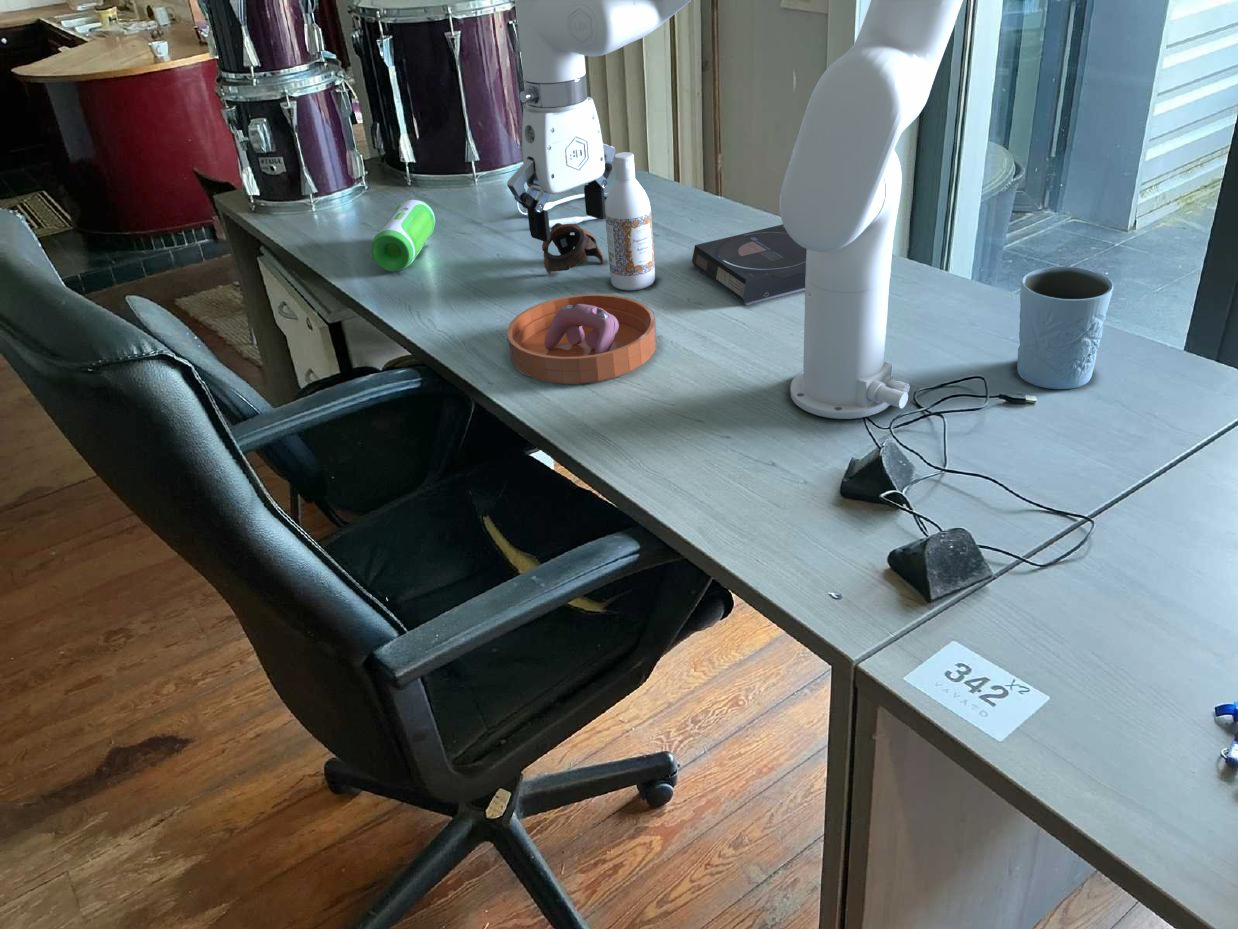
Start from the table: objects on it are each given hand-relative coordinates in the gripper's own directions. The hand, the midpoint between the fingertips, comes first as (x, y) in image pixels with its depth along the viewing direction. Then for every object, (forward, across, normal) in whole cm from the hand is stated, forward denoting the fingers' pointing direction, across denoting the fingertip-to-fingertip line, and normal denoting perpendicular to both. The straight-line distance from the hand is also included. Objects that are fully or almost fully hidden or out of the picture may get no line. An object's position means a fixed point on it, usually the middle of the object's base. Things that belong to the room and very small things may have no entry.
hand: (568, 227), depth 135 cm
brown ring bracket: (+18, +20, +23) cm, 35 cm away
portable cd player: (+17, +35, -5) cm, 39 cm away
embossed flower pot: (+17, +31, -53) cm, 63 cm away
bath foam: (+18, +21, +10) cm, 29 cm away
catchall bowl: (+17, 0, -1) cm, 17 cm away
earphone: (+18, +37, +42) cm, 59 cm away
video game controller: (+17, 0, -1) cm, 17 cm away
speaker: (+18, +6, +51) cm, 55 cm away
